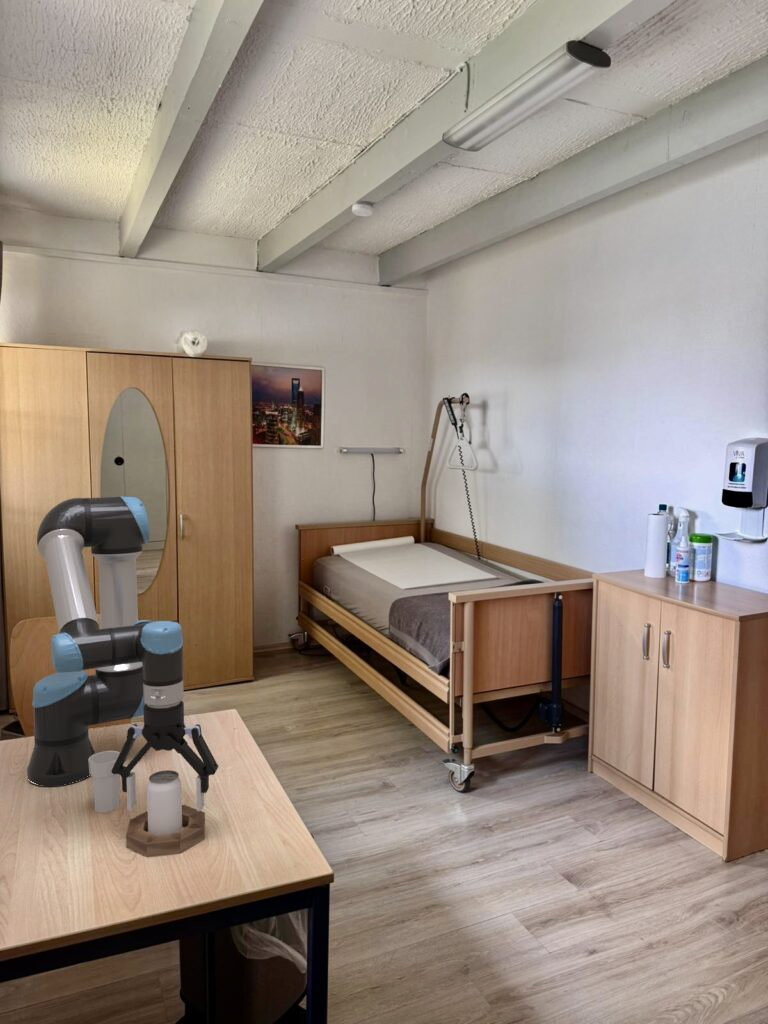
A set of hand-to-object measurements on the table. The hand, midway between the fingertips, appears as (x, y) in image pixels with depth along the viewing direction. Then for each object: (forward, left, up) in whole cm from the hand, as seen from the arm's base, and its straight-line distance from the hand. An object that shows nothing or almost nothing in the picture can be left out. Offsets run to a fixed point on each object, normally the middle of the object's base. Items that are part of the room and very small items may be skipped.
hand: (166, 807), depth 145 cm
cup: (-20, +1, -6) cm, 21 cm away
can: (0, 0, -6) cm, 6 cm away
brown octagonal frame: (0, 0, -6) cm, 6 cm away
